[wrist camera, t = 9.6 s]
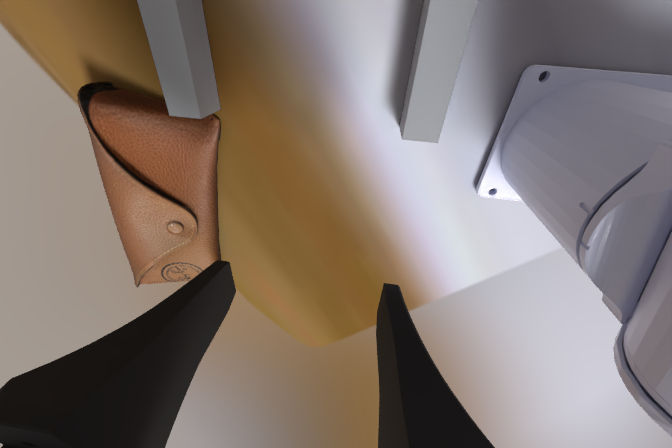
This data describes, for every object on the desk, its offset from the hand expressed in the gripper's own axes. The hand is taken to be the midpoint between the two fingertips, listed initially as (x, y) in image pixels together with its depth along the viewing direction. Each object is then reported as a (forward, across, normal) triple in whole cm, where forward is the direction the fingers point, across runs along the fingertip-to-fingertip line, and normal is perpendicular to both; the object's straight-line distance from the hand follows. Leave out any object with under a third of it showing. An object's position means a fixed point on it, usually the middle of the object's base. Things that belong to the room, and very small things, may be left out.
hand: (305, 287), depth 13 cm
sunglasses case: (+11, +14, +3) cm, 17 cm away
